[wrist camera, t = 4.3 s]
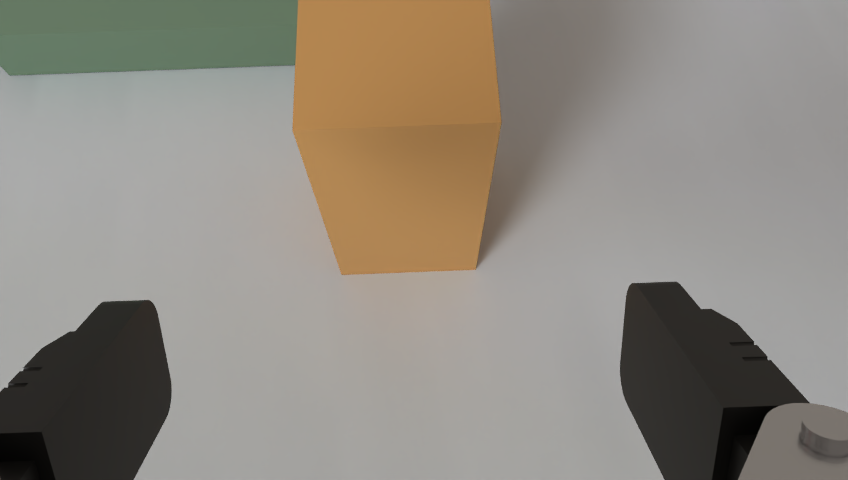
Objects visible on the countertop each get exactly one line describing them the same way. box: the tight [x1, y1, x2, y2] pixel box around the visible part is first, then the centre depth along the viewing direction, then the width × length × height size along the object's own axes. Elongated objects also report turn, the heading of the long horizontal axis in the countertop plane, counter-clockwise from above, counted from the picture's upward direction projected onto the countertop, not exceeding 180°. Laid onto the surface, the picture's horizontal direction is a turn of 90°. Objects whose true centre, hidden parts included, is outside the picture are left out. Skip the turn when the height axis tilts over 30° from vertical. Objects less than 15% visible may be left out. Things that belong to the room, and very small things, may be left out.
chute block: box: [293, 0, 501, 275], centre depth 22 cm, size 5×5×10 cm
